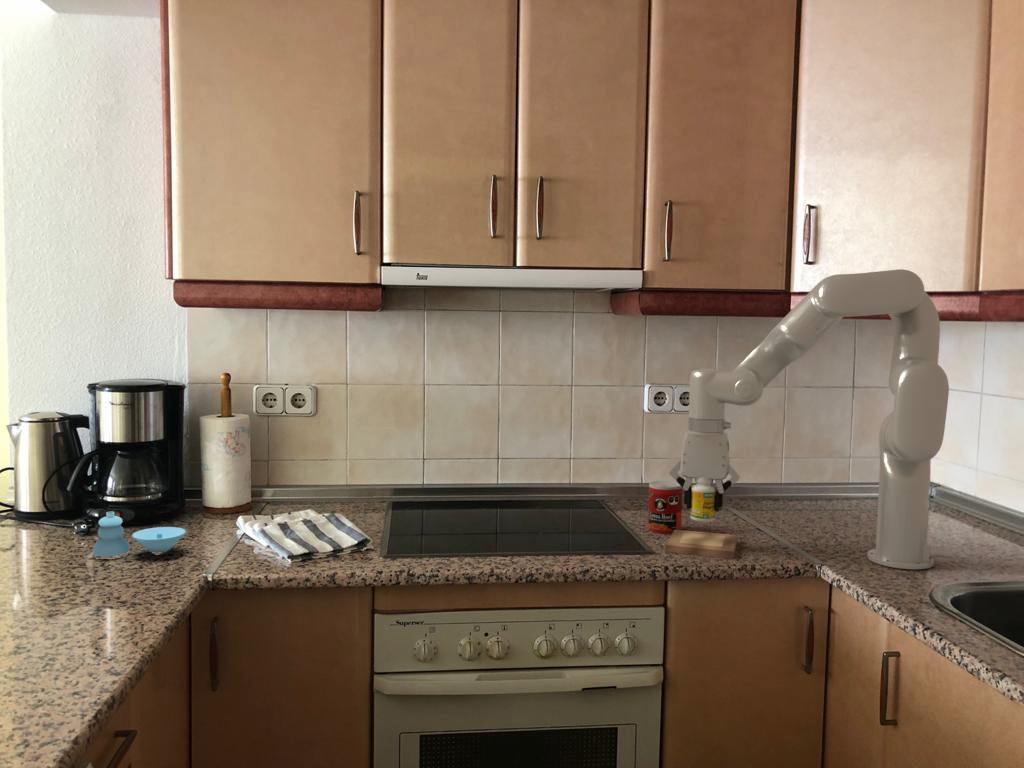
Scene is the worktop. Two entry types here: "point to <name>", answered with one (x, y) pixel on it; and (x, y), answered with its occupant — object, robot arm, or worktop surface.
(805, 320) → the robot arm
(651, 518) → the canned food
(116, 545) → the light blue rounded pieces
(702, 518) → the supplement bottle
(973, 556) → the worktop surface
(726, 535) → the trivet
